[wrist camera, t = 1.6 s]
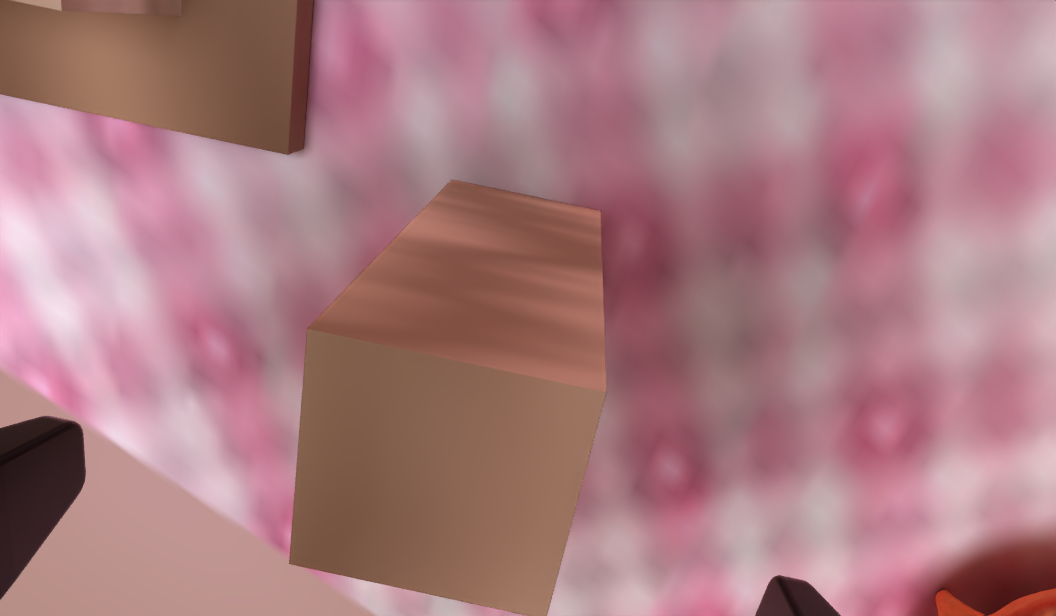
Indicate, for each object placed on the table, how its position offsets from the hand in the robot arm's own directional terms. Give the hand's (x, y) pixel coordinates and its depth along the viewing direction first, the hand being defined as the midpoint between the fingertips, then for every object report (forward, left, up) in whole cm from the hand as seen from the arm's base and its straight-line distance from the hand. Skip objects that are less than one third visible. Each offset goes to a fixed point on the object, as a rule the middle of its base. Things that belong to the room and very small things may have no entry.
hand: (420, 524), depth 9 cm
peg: (0, 0, -11) cm, 11 cm away
